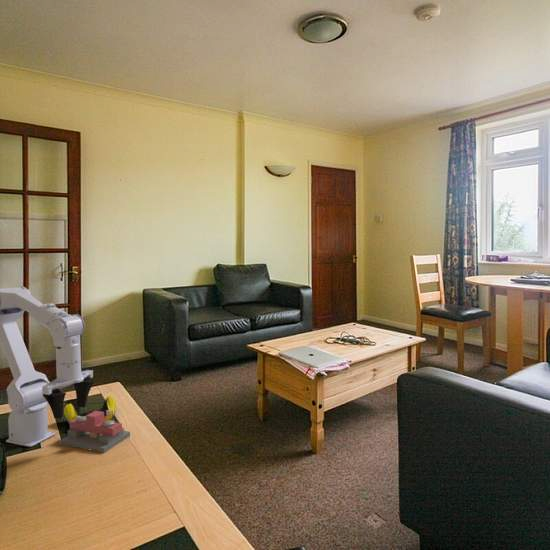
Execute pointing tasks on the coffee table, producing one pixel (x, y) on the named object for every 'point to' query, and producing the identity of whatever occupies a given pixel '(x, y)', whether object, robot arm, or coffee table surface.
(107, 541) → the coffee table surface
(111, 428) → the frame bar
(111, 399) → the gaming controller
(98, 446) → the display stand
